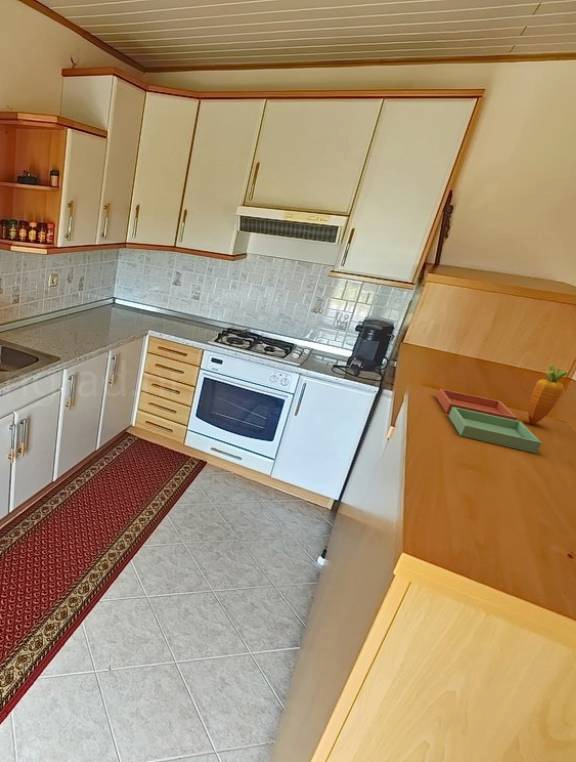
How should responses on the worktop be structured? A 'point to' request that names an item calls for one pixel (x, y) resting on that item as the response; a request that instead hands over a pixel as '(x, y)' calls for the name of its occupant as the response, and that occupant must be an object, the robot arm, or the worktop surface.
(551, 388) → the carrot
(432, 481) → the worktop surface
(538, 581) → the worktop surface
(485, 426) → the green tray
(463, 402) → the terracotta tray
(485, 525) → the worktop surface
